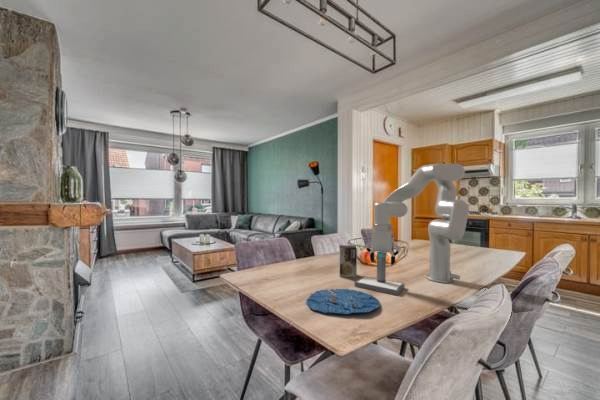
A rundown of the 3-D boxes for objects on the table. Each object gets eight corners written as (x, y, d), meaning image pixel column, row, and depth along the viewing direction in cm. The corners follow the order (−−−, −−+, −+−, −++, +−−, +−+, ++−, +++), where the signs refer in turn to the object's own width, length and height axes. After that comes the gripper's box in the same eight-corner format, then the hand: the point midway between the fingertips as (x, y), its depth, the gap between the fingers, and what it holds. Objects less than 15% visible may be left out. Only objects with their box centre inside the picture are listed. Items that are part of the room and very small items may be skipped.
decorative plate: (292, 300, 111) (291, 288, 111) (346, 288, 125) (346, 277, 125) (333, 328, 85) (333, 312, 85) (396, 308, 100) (396, 295, 100)
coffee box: (355, 274, 144) (355, 245, 144) (356, 277, 138) (357, 247, 138) (338, 273, 145) (339, 244, 145) (339, 277, 139) (339, 247, 138)
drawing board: (404, 287, 123) (404, 283, 123) (397, 295, 113) (397, 290, 113) (363, 279, 134) (363, 275, 134) (354, 286, 124) (354, 282, 124)
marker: (386, 281, 126) (387, 252, 126) (384, 283, 122) (384, 253, 122) (378, 279, 128) (378, 251, 128) (375, 281, 125) (375, 252, 125)
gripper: (402, 228, 123) (402, 263, 124) (367, 226, 133) (367, 259, 134) (398, 229, 117) (399, 267, 118) (362, 227, 127) (362, 262, 127)
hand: (382, 263), depth 126 cm, fingers open, 9 cm apart
